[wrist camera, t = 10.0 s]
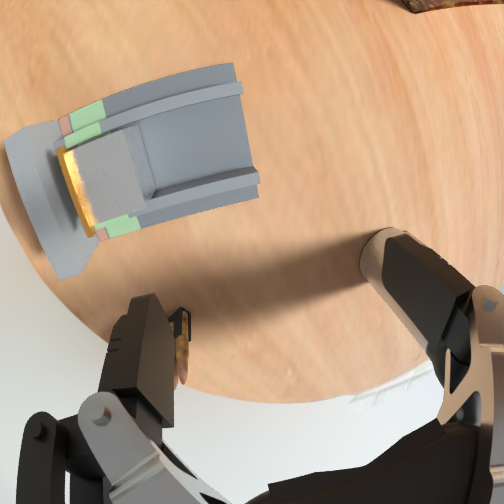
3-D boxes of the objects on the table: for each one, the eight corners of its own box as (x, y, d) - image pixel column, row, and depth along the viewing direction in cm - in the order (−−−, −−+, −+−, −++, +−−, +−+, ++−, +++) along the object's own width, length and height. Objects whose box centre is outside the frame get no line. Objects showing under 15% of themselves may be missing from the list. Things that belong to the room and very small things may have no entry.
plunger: (136, 118, 23) (118, 121, 17) (157, 194, 27) (148, 219, 21) (84, 138, 22) (55, 149, 17) (108, 210, 27) (87, 238, 21)
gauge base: (231, 64, 23) (244, 48, 16) (256, 194, 31) (275, 222, 24) (42, 129, 22) (3, 141, 15) (83, 243, 29) (59, 280, 23)
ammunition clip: (148, 349, 40) (144, 414, 30) (139, 344, 39) (132, 409, 29) (191, 313, 38) (195, 383, 27) (181, 306, 37) (182, 377, 27)
